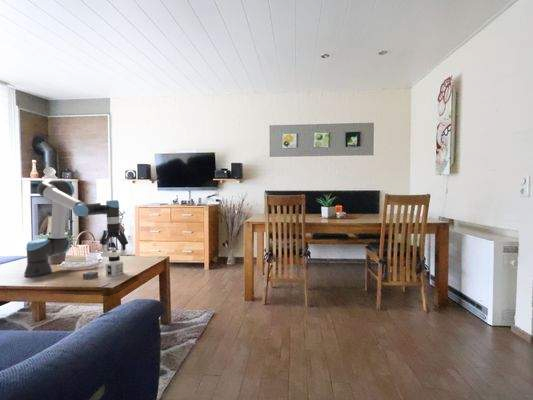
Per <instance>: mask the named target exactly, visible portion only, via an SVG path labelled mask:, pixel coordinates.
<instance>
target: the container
mask: <svg viewBox="0 0 533 400" xmlns="http://www.w3.org/2000/svg"><path fill="white" fill-rule="evenodd" d="M123 273H124V261H121V256H118V257H108V263H105V275H106V276H108V277H109V276H111V277H117V276H119V275H121V274H123Z"/></svg>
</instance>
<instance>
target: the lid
mask: <svg viewBox="0 0 533 400" xmlns="http://www.w3.org/2000/svg"><path fill="white" fill-rule="evenodd" d="M127 253H128V251H127V250H126V249H125V255H126V254H127ZM118 256H120V257H121V256H122V255H121V249H116V248H111V250H107V252H104V253H103V252H101V253H100V257H102V258H105V257H106V258H109V257H118Z"/></svg>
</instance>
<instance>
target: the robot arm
mask: <svg viewBox="0 0 533 400" xmlns="http://www.w3.org/2000/svg"><path fill="white" fill-rule="evenodd" d="M36 190H37V193H38V195H40V197H42V198H44V199H46V200H50V201H52V203H51V204H52V205H51V206H52V207H51V218H50V219H51V222H50V223H51V224H50V234H48V236H47V238H39V239H32V240H30V241H28V242H27V244H26V247H25V248H26V267H25V270H24V275H23V276H24V277H25V276H27V277H26V278H33V277H32V276H37V277H42V276H47V275H50V274H52V273H53V269H52V267H51V264H50V261H49V257H54V256H59V255H62V254H65V253H68V252H69V250H70V249H71V241H70V239H69V237H68V235H67V234H66V221H67V209H69V210H71V211H72V212H73V214H74V215H75V216H77V217H87V216H95V215H96V216H97V215H98V216H99V215H106V223H107V224H106V230H103V232H102V233H103V234H102V236H101V239H100V241H99V244H100V245H101V246H102V250H103V251H102V253H104V252H107V251H108V244H107V243H108V242H109V240H110V239H111V238H115V239H117V241H118V242H119V243H120V244H121V245H120V250H121V256H125V255H126V254H125V250H126V249H127V248H126V245H128V244H129V241H128V239H127V237H126V234H125V232H124V230H123V229H122V230H120V203H119V200H117V199H112V200H109V199H108V200H106V202H105V203H104V202H103V203H101V202H95V203H86V202H83V201H82V200H79V199H78V198H75V197H73V195H74V194H75V187H74V185H73V183H72V182H70V181H68V180H62V179H59V180H58V179H45V180H42V181H40V182H39V183H38V185H37V187H36Z"/></svg>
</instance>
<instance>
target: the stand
mask: <svg viewBox="0 0 533 400" xmlns="http://www.w3.org/2000/svg"><path fill="white" fill-rule="evenodd" d="M97 277H99V272H98V271H89V272H84V273H82V280H92V279H95V278H97Z"/></svg>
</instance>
